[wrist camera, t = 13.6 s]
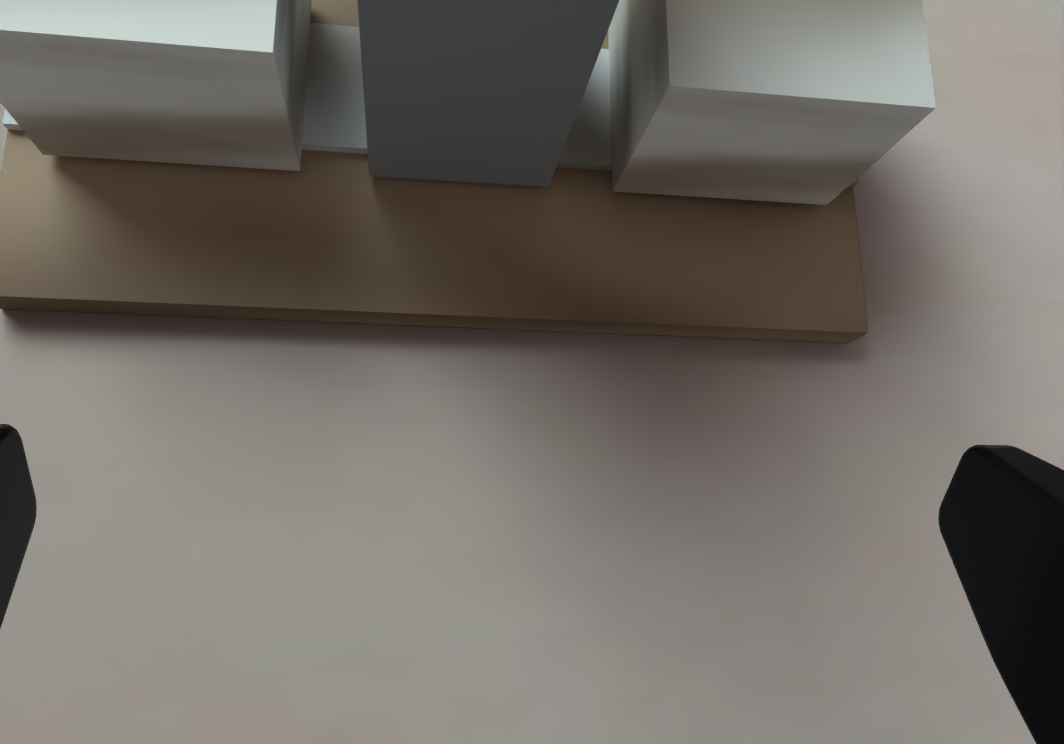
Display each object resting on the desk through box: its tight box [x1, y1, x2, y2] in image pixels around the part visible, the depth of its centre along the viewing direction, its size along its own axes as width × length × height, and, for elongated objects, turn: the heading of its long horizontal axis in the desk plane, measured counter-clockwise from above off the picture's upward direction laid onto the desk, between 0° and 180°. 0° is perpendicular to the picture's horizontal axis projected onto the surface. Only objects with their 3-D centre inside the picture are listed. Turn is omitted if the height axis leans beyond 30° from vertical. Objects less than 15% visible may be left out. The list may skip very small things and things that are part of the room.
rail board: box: [0, 0, 936, 343], centre depth 21 cm, size 12×22×6 cm, turn 90°
